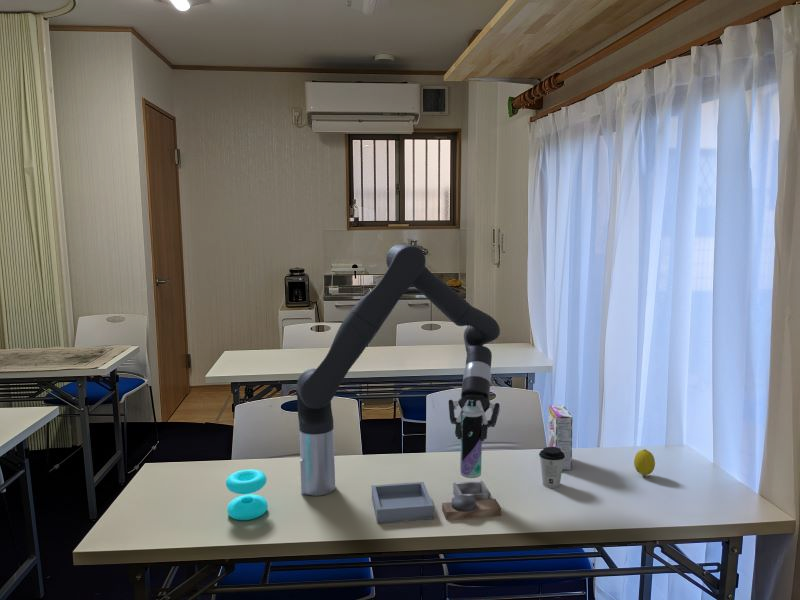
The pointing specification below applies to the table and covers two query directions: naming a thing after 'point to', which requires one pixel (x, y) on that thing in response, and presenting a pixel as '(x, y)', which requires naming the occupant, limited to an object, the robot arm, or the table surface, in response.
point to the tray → (402, 502)
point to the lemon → (644, 462)
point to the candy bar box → (561, 432)
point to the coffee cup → (551, 466)
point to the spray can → (471, 440)
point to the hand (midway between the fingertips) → (470, 438)
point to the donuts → (249, 503)
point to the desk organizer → (470, 502)
